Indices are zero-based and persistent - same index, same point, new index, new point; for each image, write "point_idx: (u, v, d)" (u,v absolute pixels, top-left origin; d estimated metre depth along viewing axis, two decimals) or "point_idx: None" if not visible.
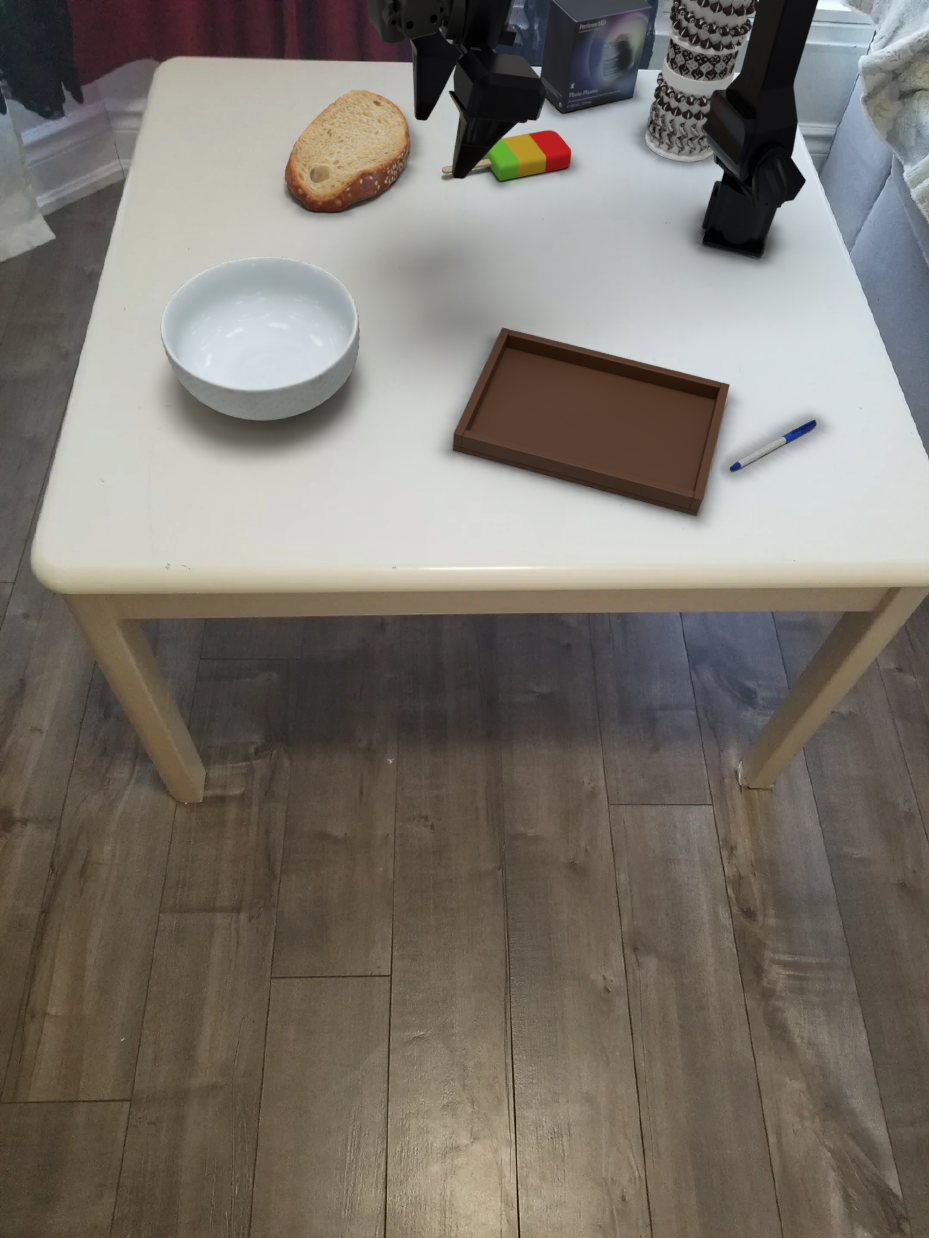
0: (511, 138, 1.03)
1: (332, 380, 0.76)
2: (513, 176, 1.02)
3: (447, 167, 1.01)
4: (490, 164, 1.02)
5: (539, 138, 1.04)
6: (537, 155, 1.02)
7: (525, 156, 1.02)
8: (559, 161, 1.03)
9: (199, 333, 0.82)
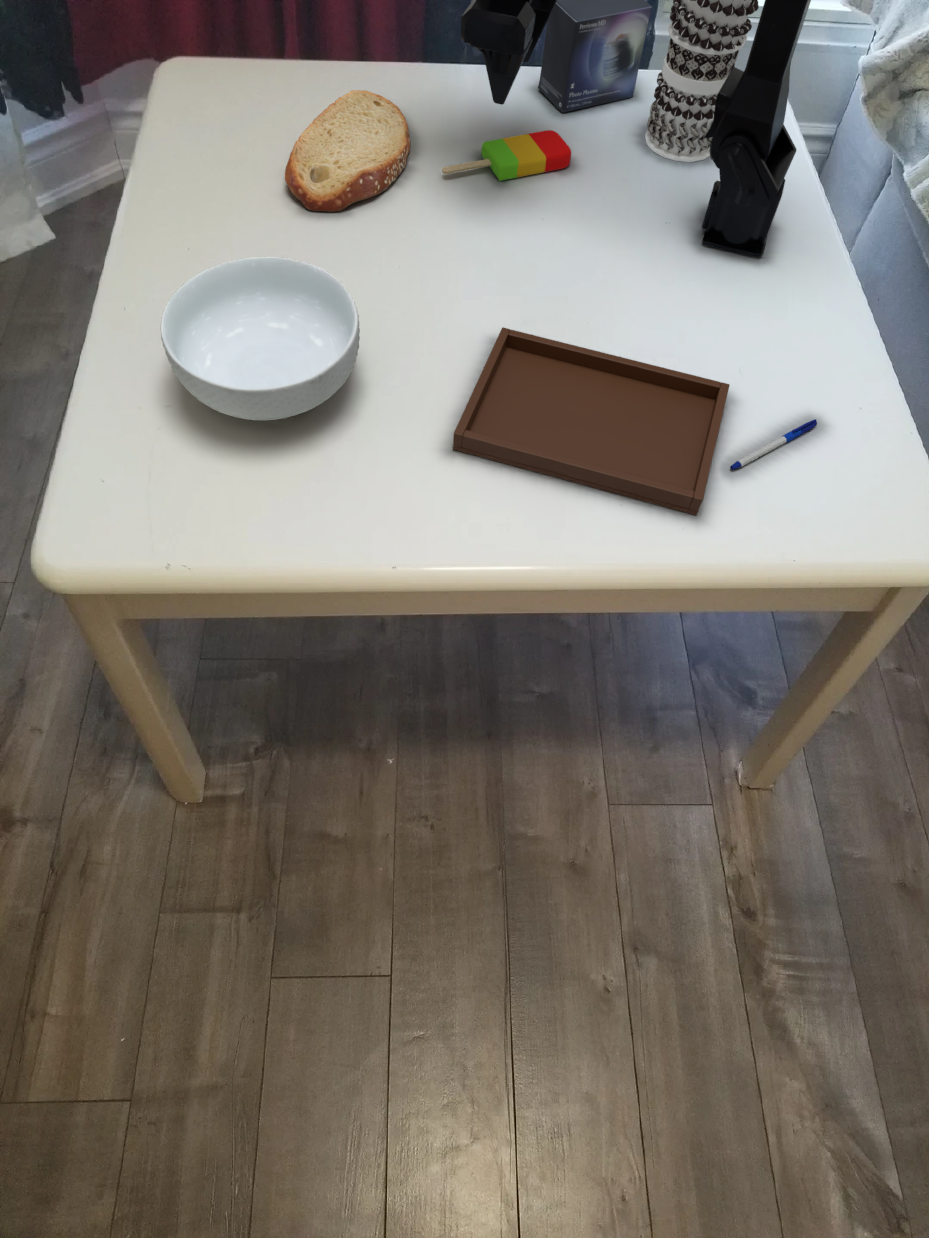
0: (511, 138, 1.03)
1: (332, 380, 0.76)
2: (513, 176, 1.02)
3: (447, 167, 1.01)
4: (490, 164, 1.02)
5: (539, 138, 1.04)
6: (537, 155, 1.02)
7: (525, 156, 1.02)
8: (559, 161, 1.03)
9: (199, 333, 0.82)
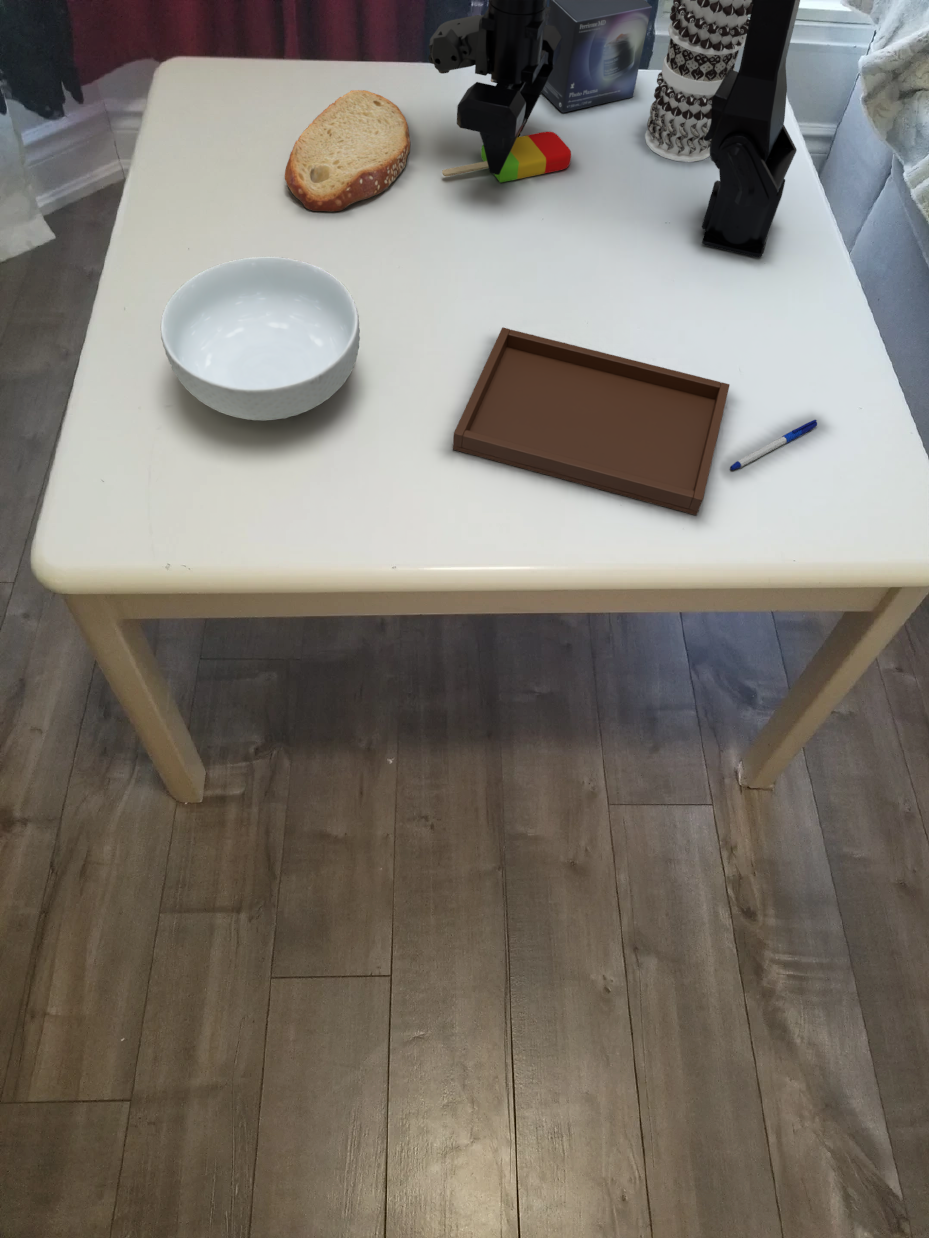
0: None
1: (332, 380, 0.76)
2: (513, 178, 1.02)
3: (447, 170, 1.01)
4: None
5: (538, 139, 1.04)
6: (537, 156, 1.02)
7: (525, 158, 1.01)
8: (559, 162, 1.02)
9: (199, 333, 0.82)
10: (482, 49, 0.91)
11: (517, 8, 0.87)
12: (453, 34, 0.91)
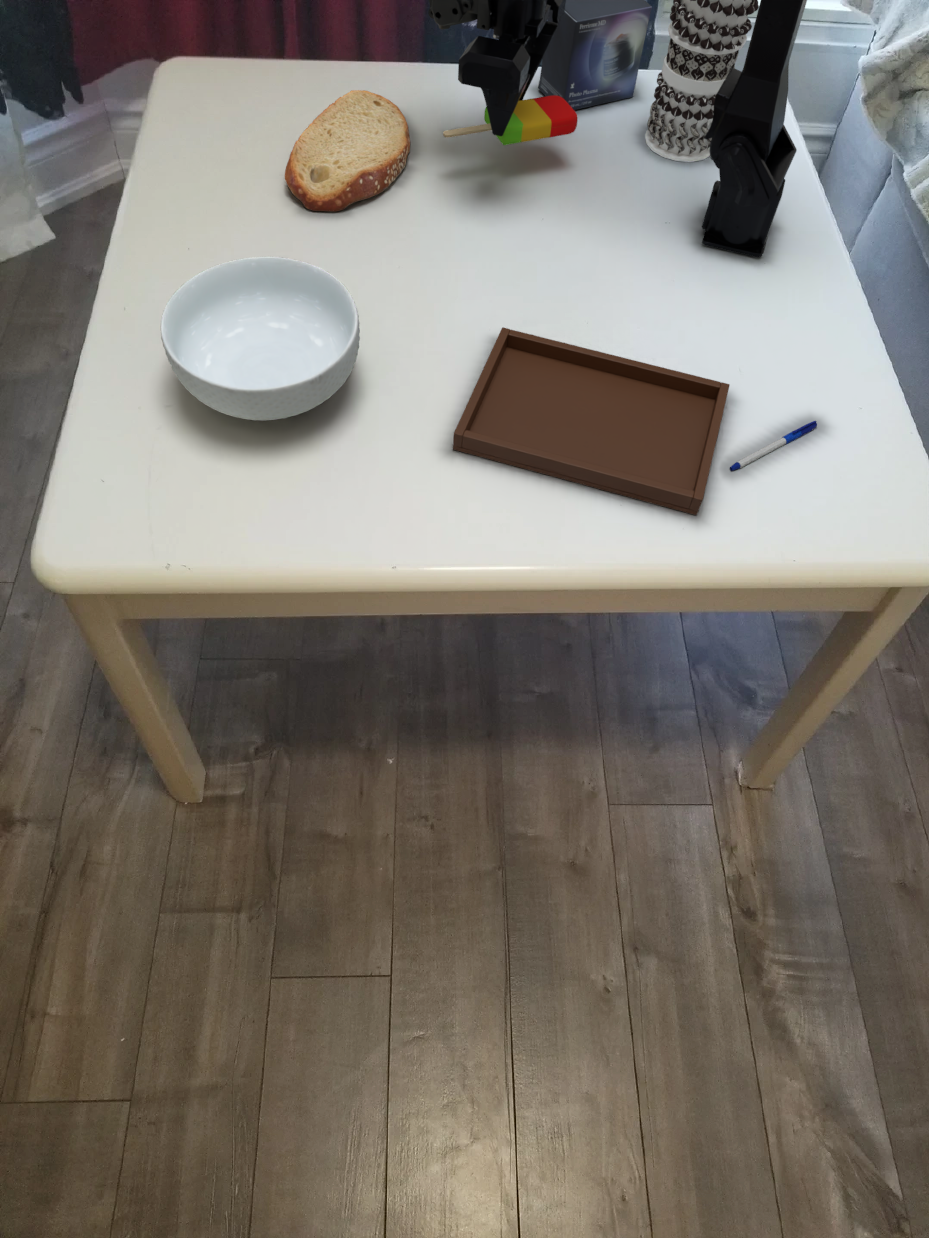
0: None
1: (332, 380, 0.76)
2: (517, 140, 0.98)
3: (449, 131, 0.97)
4: None
5: (544, 103, 1.00)
6: (543, 119, 0.98)
7: (530, 120, 0.98)
8: (565, 126, 0.99)
9: (199, 333, 0.82)
10: (484, 2, 0.88)
11: None
12: None
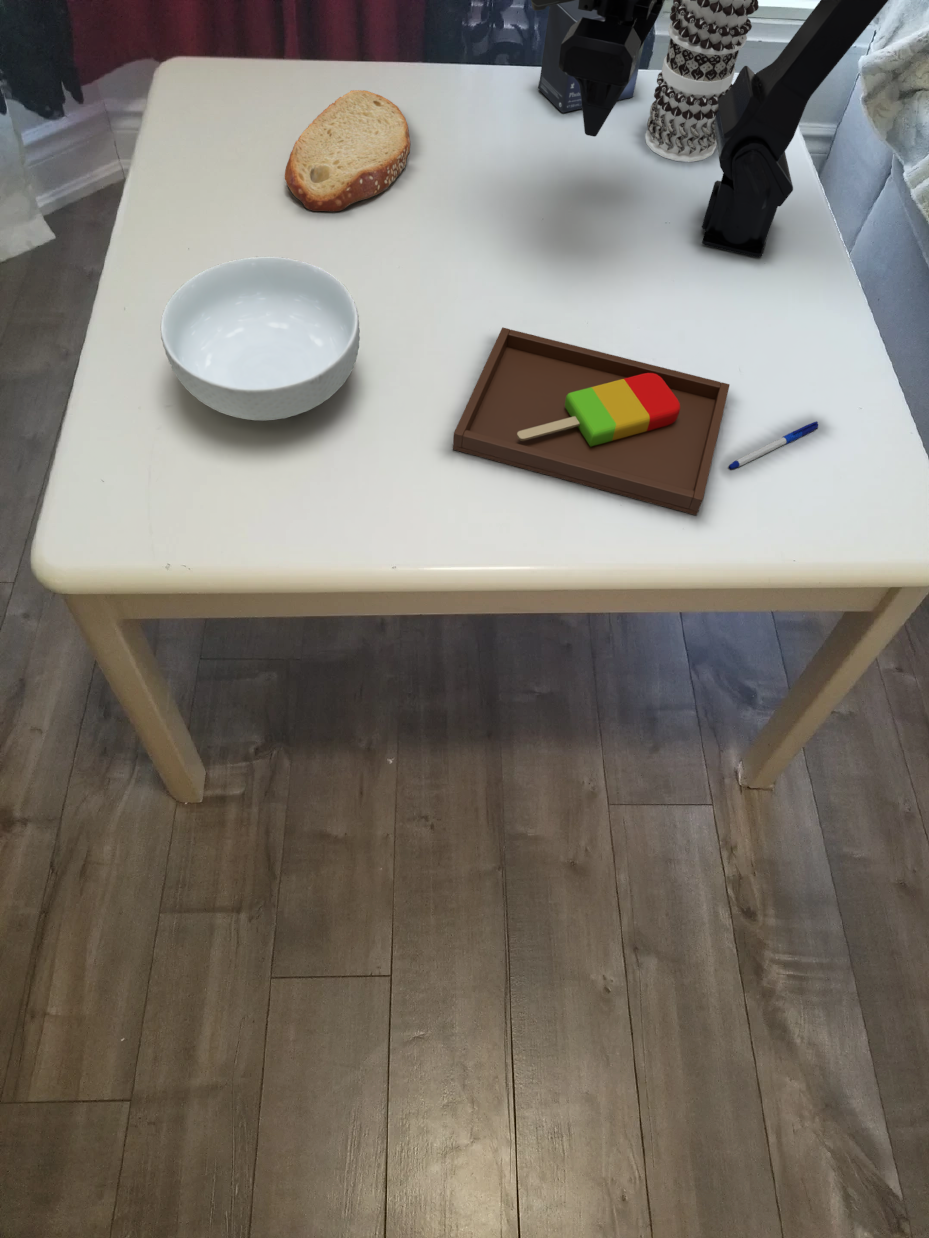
0: (603, 387, 0.81)
1: (332, 380, 0.76)
2: (608, 440, 0.80)
3: (524, 431, 0.79)
4: (578, 424, 0.80)
5: (638, 386, 0.82)
6: (639, 413, 0.80)
7: (623, 416, 0.79)
8: (665, 419, 0.80)
9: (199, 333, 0.82)
10: None
11: None
12: None
